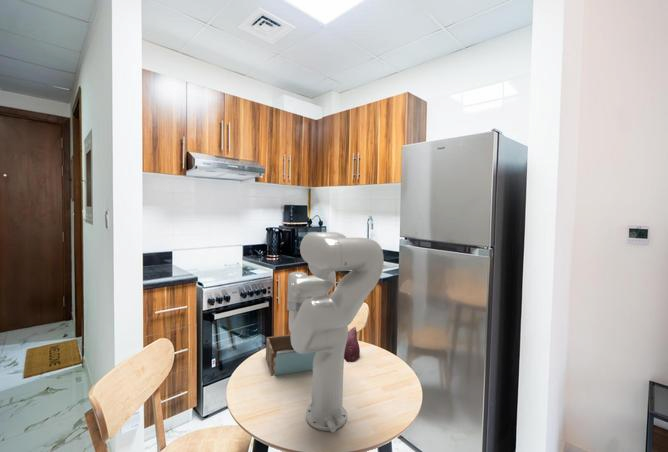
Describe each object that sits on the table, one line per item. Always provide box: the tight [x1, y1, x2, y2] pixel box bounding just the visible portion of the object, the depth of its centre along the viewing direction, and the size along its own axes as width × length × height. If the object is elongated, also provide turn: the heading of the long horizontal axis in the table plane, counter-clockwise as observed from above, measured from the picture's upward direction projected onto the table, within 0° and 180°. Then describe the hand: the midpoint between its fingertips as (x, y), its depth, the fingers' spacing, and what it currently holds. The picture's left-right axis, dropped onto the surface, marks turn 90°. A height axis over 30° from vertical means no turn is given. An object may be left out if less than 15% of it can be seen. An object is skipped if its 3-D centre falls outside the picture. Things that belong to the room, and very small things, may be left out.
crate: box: [265, 334, 291, 377], centre depth 125 cm, size 15×18×10 cm
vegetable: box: [344, 326, 361, 363], centre depth 135 cm, size 10×10×15 cm
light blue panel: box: [274, 349, 316, 376], centre depth 116 cm, size 1×15×11 cm, turn 110°
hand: (295, 351), depth 117 cm, fingers closed
